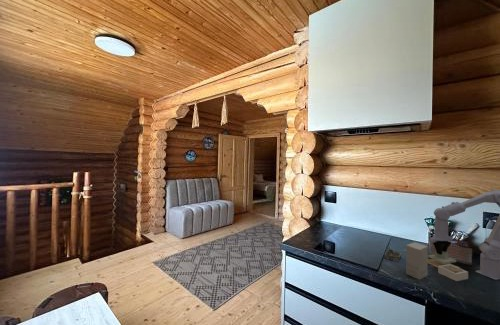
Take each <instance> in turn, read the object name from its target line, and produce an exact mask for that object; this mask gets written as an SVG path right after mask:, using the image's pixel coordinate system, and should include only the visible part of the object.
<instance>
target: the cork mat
mask: <svg viewBox="0 0 500 325" xmlns="http://www.w3.org/2000/svg"><path fill="white" fill-rule="evenodd" d="M428 264H429V265H430V266H433V267H434V268H435V267H436V268H437V269H438V266H442V265H448V264H450V265H453V266H455V267H457V268H460V269H461V267H460V266H457V265H455V264H452V263H446V264H443V263H440V262H438V261H436V260H433V259H432V258H430V259H428Z"/></svg>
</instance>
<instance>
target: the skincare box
mask: <svg viewBox="0 0 500 325" xmlns="http://www.w3.org/2000/svg"><path fill="white" fill-rule="evenodd" d="M428 252H429V246H428V245H425V244H422V243H419V242H415V241H414V242H411V243H408V244H406V251H405V254H406V257H405V259H406V260H405V274H406V275H408V276H410V277H412V278H414V279H417V280H422V279H424V278H426V277H427V276H428V260H429V257H428V255H429V253H428Z"/></svg>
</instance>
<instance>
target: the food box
mask: <svg viewBox="0 0 500 325" xmlns="http://www.w3.org/2000/svg"><path fill="white" fill-rule="evenodd" d="M450 264H451V263H450ZM450 264H448V265H442V266H438V268H437V271H438V274H439V275H442V276H444V277H447V278H449V279H451V280H453V281H455V282H460V281H465V280H469V271H467V270H465V269H463V268H461V267H460V268H457V267H455V266H456V265H455V266H453V265H454V264H453V265H450ZM449 268H453V269H455V270H457V271H458V273H454V272H452V271H450V270H447V269H449Z"/></svg>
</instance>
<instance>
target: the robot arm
mask: <svg viewBox="0 0 500 325" xmlns="http://www.w3.org/2000/svg"><path fill="white" fill-rule="evenodd" d="M483 203H488V204H496V205H497V206H498V208H500V189H492V190H490V191H485V192H483V193H481V194H478V195H476V196H473V197H471V198H469V199H466V200H465V201H462V202H459V201H455V202H454V201H452V202H451V203H450V204H448V205H445V206H444V205H443V206H441V207H438V208H435V210H434V211H433V215H434V216H435V217H434V235H433V234H432V237H430V238H429V242H430V243H432V245H433V246H434V250H436V252H437V254H440V255H442V251H444V252H447V253H448V249H449V247H450V246H451V245H452V241H453V240H454V239H453V238H454V237H453V236H450V235H449V220H450V218H451V217H454V216H456V215H459V214H462V213H465V212H466V210H467V209H468V208H471V207H474V206H477V205H481V204H483ZM493 225H494V226H493V227H492V229H491V232H490V234H489V235H488V237H486V238H485V239H484V241H482V242H481V243H479V245H478V249H479V251H480V252H481V253H480V256H479V258H480V265H479V269H478V270H475V272H476V273H477V274H479V275H483V276H485V277H488V278H491V279H493V280H495V281H497V280H500V214H499V215H498V217H497V219H496V221H495V223H494V224H493Z"/></svg>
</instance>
